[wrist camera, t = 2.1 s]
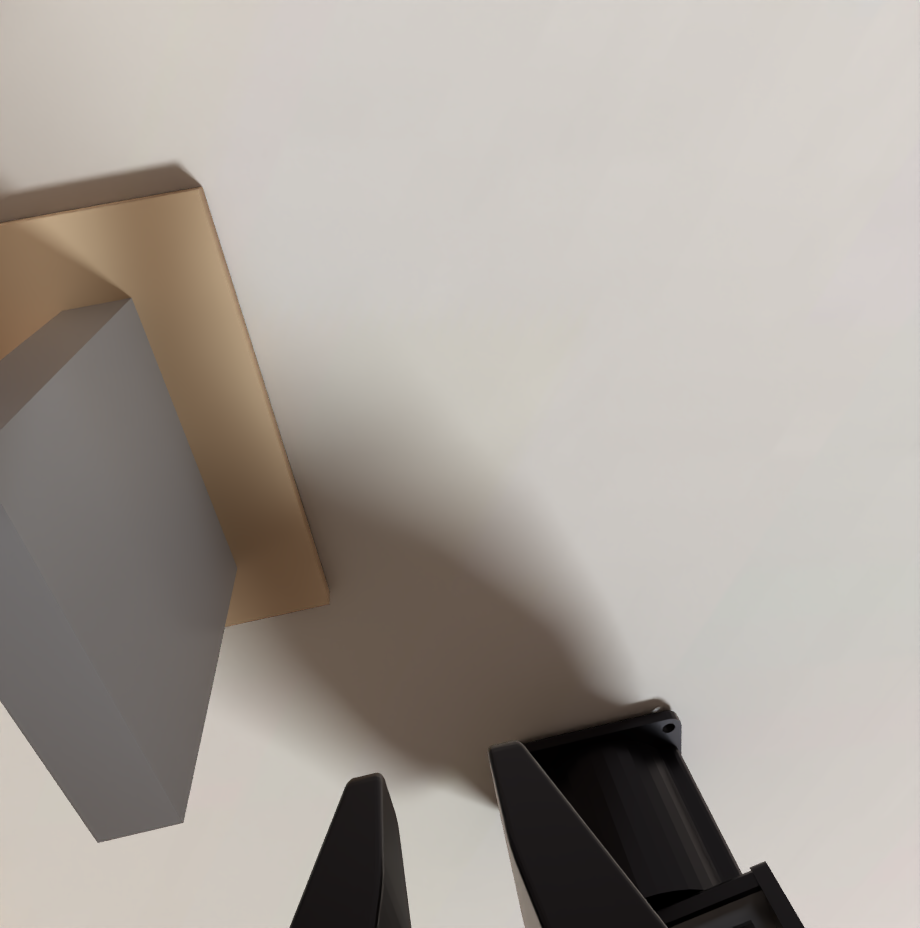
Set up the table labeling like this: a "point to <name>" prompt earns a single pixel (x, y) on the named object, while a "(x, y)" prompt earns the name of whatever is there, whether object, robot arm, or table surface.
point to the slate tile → (106, 571)
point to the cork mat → (180, 368)
